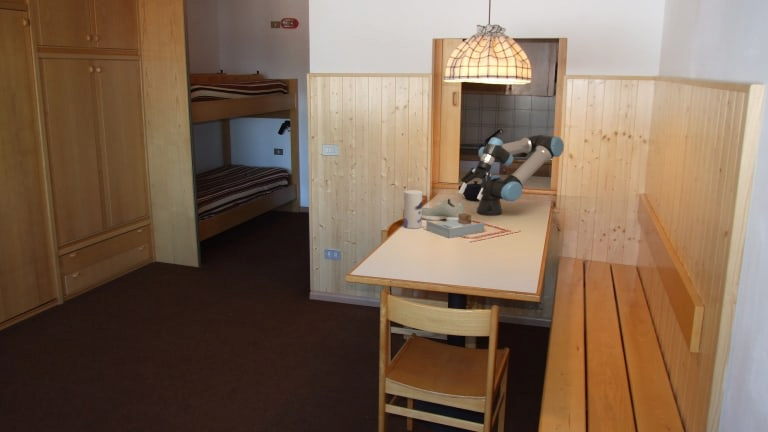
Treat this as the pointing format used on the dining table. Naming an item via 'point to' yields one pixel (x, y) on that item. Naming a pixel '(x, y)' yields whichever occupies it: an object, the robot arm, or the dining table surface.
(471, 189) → the teapot
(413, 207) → the container
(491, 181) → the robot arm
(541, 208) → the dining table surface
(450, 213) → the running shoe
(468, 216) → the block
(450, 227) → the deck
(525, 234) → the dining table surface
